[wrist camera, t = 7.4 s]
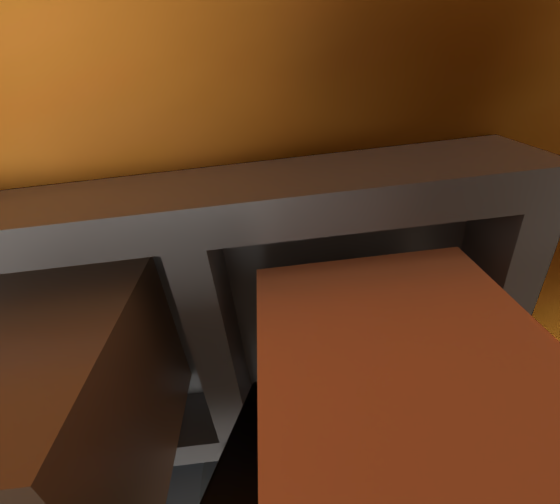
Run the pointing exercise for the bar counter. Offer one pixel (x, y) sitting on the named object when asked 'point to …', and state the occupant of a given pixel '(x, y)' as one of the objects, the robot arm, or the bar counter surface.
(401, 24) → the bar counter surface
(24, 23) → the bar counter surface
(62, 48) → the bar counter surface
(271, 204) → the grid tray
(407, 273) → the terracotta block
